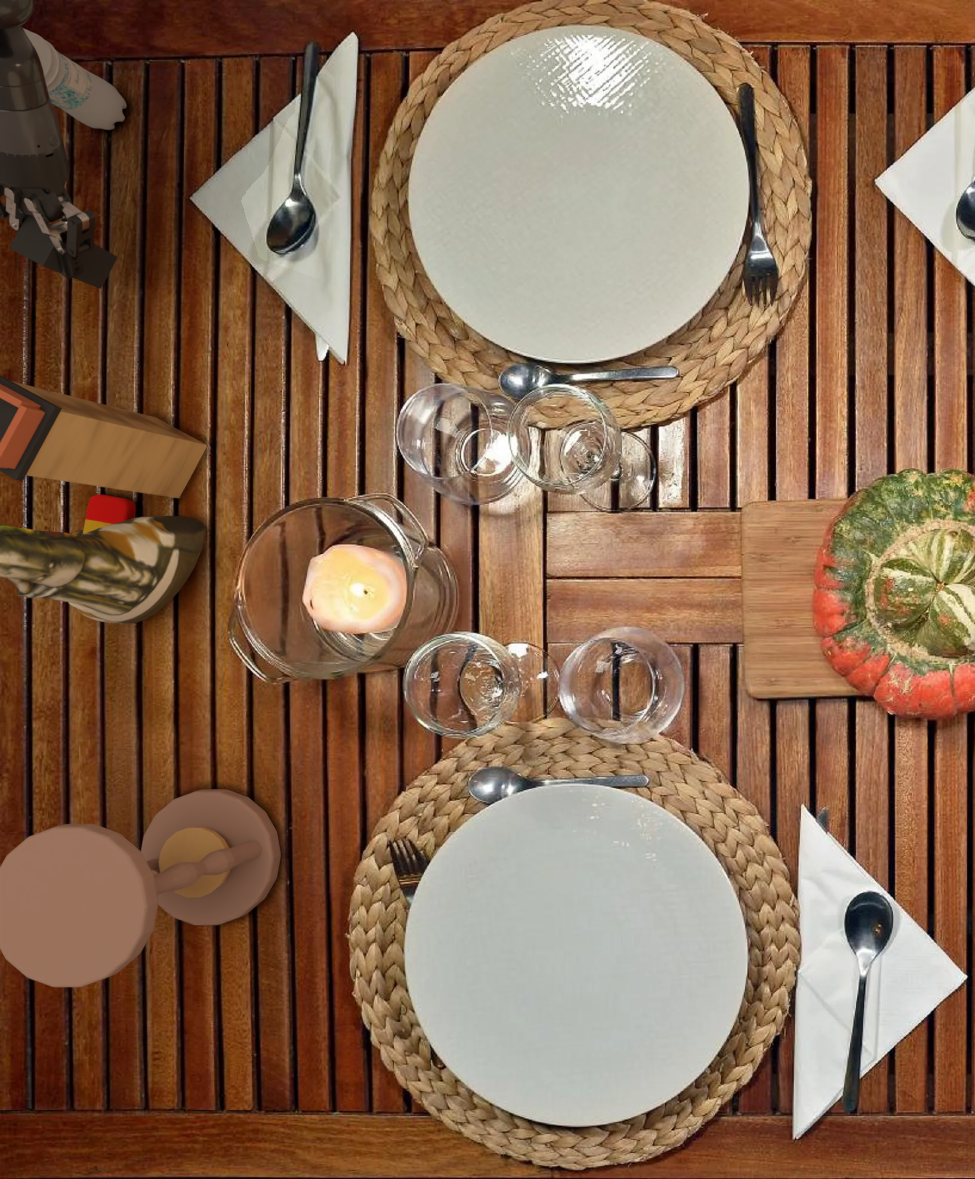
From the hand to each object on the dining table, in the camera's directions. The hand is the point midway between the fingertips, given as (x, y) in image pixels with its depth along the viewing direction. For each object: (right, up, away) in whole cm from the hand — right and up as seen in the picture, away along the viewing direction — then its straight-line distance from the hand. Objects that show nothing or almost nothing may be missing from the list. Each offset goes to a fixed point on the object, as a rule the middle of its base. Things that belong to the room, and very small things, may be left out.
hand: (54, 264), depth 129 cm
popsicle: (-3, -34, +13) cm, 37 cm away
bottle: (-4, +25, +14) cm, 29 cm away
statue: (+5, -37, +13) cm, 39 cm away
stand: (+5, -22, +13) cm, 26 cm away
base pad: (+4, -21, -12) cm, 25 cm away
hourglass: (+12, -74, +12) cm, 76 cm away
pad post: (+1, +2, +5) cm, 6 cm away
